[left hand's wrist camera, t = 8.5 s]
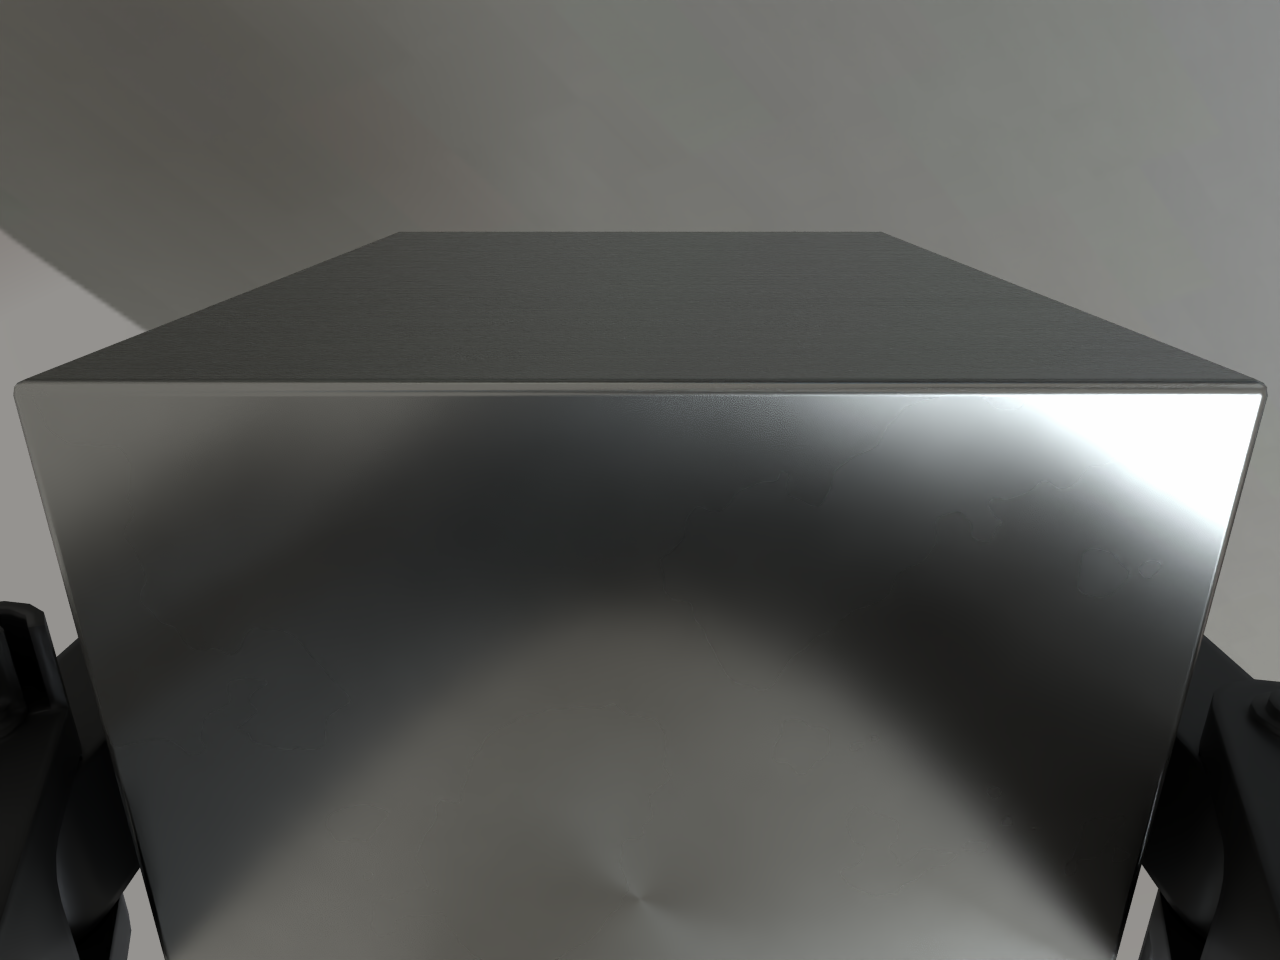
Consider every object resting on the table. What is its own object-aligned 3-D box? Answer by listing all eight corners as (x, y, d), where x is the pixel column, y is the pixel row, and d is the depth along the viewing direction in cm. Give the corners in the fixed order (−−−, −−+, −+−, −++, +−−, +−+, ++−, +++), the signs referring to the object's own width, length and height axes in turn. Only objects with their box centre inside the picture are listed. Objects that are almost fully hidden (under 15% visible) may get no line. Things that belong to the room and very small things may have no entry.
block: (841, 676, 17) (1048, 1229, 8) (438, 676, 17) (233, 1228, 8) (885, 231, 14) (1278, 381, 5) (395, 231, 14) (1, 383, 5)
